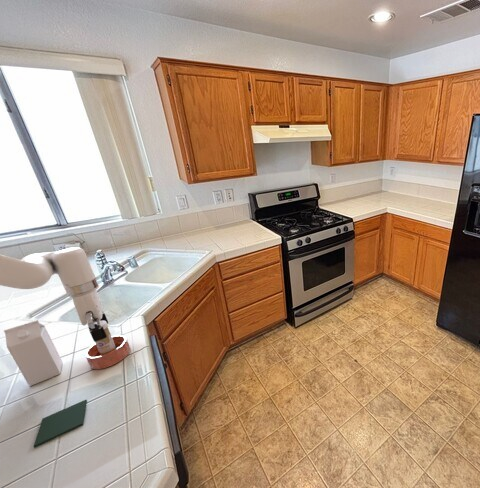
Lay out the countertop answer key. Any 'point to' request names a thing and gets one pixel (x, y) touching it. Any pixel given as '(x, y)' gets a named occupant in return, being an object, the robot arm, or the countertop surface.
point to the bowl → (111, 358)
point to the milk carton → (33, 352)
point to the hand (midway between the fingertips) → (101, 331)
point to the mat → (61, 423)
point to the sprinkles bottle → (105, 340)
